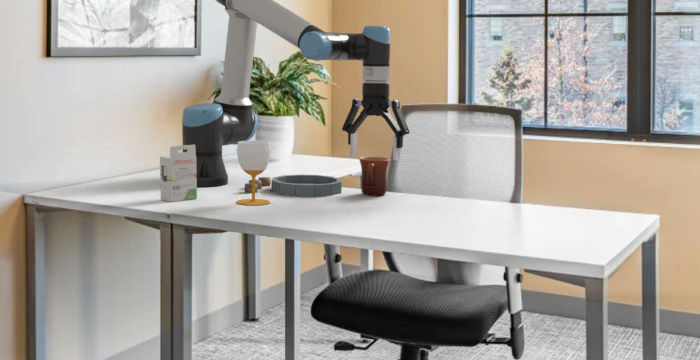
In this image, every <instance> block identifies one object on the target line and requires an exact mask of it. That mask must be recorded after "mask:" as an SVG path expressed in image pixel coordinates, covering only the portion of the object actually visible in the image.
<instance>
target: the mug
mask: <svg viewBox="0 0 700 360" xmlns="http://www.w3.org/2000/svg"><path fill="white" fill-rule="evenodd" d="M390 161H391V159H390V158H388V157H385V156H384V157H382V156H363V157H359V164H360V168H361V175H360V177H361V179H360V189H361V193H362V195H363V196H370V197H380V196H381V197H382V196H384V195H385V194H387V189H388V169H389V164H390Z"/></svg>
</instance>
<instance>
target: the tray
mask: <svg viewBox="0 0 700 360" xmlns="http://www.w3.org/2000/svg"><path fill="white" fill-rule="evenodd" d="M342 183H343V179H342V178H339V177H335V176H330V175H322V174H321V175H320V174H287V175H285V174H284V175H278V176H273V177H272V179H271V186H270V187H271V190H270V191H271V192H273V193H276V194H278V195H285V196H292V197H311V198H312V197H313V198H314V197H315V196H316V197H326V196H327V195H330V196H335V195H339V194H342V191H343V190H342V188H343V186H342ZM338 193H339V194H338ZM334 194H335V195H334ZM327 197H328V196H327Z"/></svg>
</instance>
